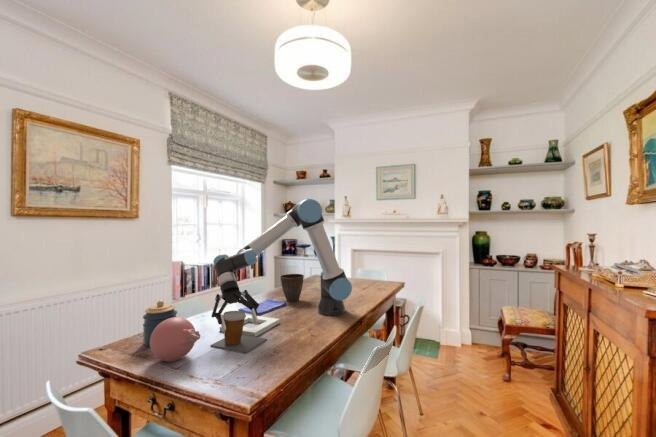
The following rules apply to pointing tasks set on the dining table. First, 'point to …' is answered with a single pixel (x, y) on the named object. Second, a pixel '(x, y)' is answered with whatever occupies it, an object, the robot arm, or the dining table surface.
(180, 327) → the balloon
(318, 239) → the robot arm
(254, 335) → the holder board
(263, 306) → the dish towel
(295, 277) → the plant pot
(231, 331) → the disposable coffee cup
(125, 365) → the dining table surface
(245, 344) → the rubber mat
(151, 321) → the canister
